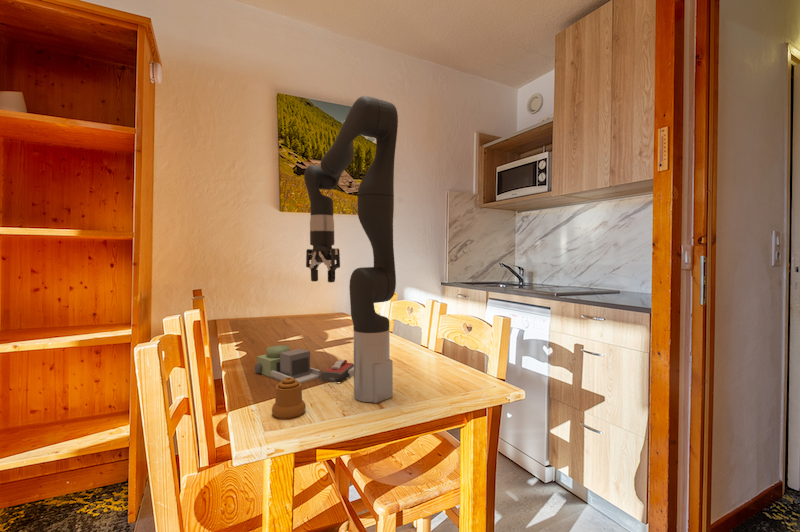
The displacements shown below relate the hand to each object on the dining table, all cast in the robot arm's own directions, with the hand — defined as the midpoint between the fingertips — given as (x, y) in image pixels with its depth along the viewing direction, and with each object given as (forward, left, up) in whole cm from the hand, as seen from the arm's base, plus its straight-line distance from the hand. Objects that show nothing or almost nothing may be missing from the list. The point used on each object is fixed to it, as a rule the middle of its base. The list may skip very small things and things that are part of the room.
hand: (322, 281), depth 122 cm
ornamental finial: (-21, +26, -28) cm, 44 cm away
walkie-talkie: (-8, -2, -29) cm, 30 cm away
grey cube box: (+1, +10, -28) cm, 29 cm away
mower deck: (+5, +10, -28) cm, 30 cm away
